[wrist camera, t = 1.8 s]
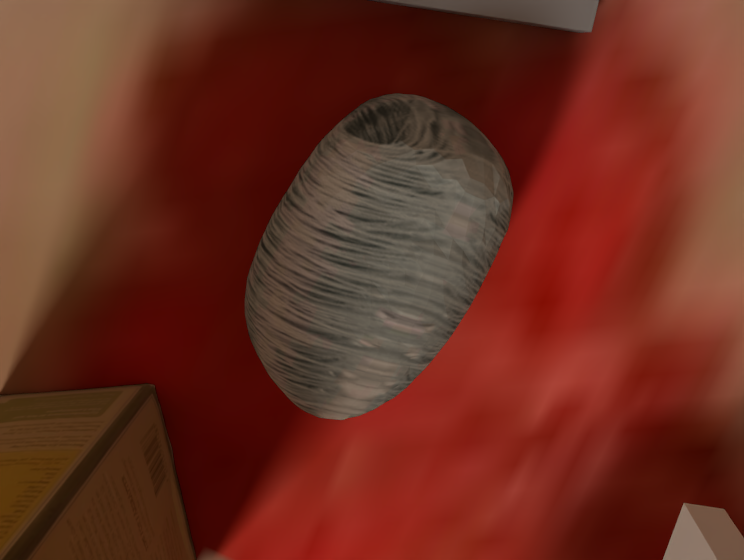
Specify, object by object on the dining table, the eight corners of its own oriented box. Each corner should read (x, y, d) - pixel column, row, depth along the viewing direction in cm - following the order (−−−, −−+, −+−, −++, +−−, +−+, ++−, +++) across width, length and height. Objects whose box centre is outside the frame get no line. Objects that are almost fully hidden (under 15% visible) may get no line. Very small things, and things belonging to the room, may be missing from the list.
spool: (337, 9, 25) (403, 167, 18) (516, 107, 30) (619, 259, 23) (192, 256, 32) (200, 436, 25) (356, 303, 37) (399, 463, 30)
